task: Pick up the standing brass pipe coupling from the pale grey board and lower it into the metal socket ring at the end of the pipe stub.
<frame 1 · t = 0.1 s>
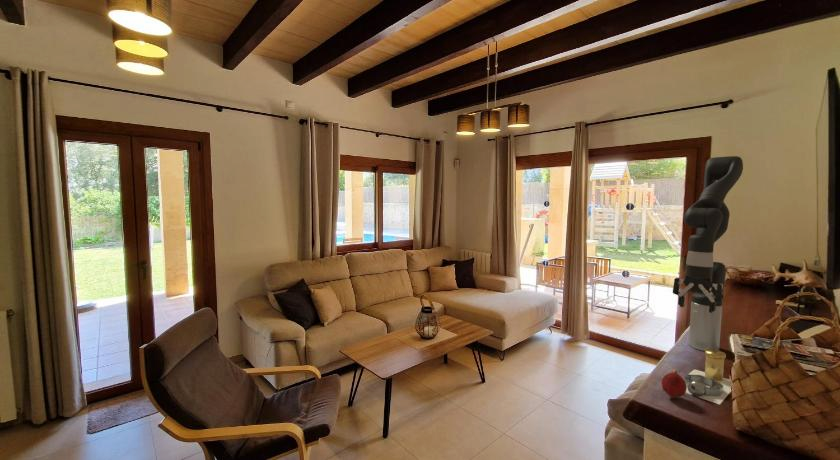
hand: (695, 309, 130), 17 cm above the sideboard, tool pointing down, fingers open, 8 cm apart
socket: (702, 391, 106), resting on board
onion: (673, 398, 103), on the sideboard
board: (705, 388, 108), on the sideboard
coupling: (713, 377, 113), point 1 cm above the sideboard, touching board
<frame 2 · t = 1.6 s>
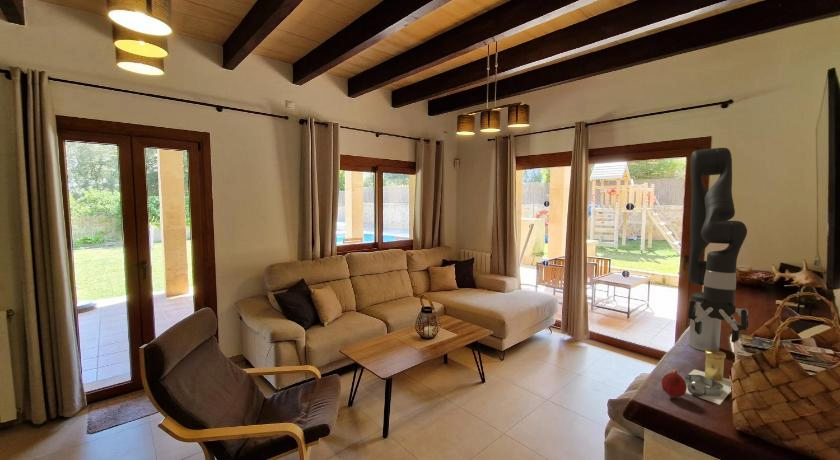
hand: (715, 337, 112), 14 cm above the sideboard, tool pointing down, fingers open, 8 cm apart
nothing on the sideboard moved.
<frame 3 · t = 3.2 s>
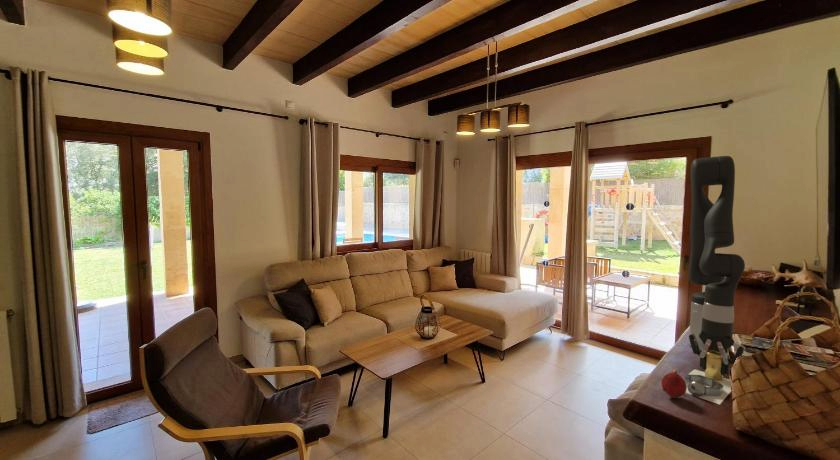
hand: (713, 371, 113), 3 cm above the sideboard, tool pointing down, fingers closed on coupling, 4 cm apart
coupling: (713, 377, 113), point 1 cm above the sideboard, touching board, gripper
everything else where it was.
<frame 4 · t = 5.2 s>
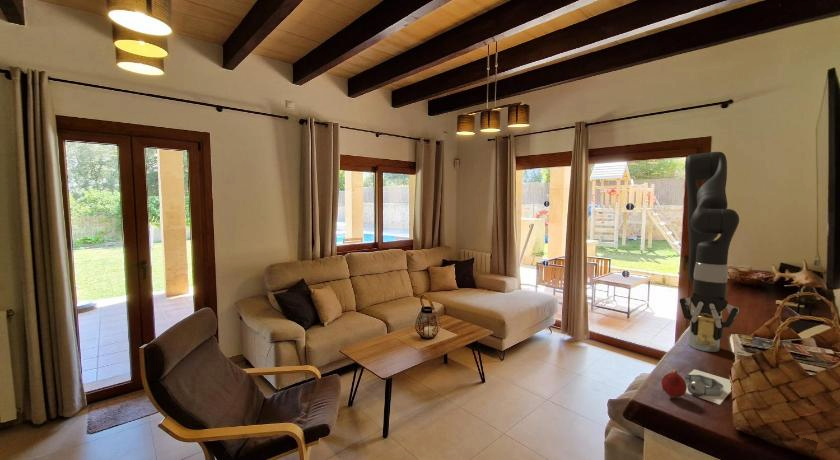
hand: (706, 336, 105), 16 cm above the sideboard, tool pointing down, fingers closed on coupling, 4 cm apart
coupling: (705, 343, 105), point 15 cm above the sideboard, touching gripper
everything else where it was.
when the fingers open (4 cm above the sideboard, at t = 7.3 s): coupling drops 1 cm, resting on board.
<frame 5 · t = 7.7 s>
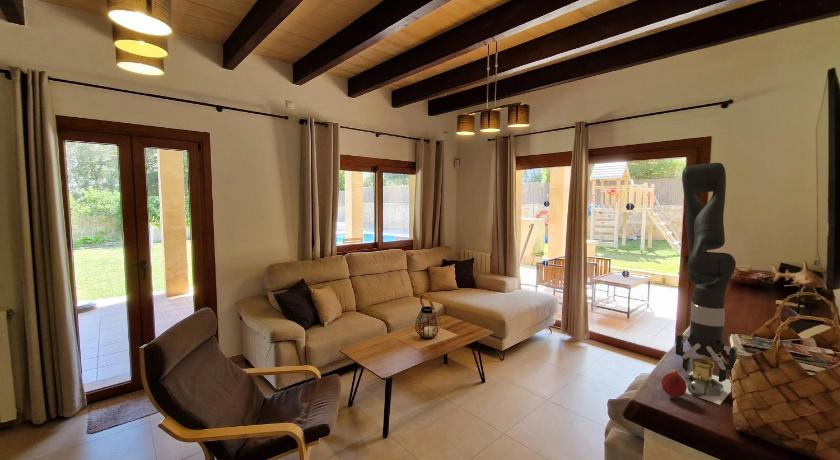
hand: (703, 375, 106), 5 cm above the sideboard, tool pointing down, fingers open, 7 cm apart
coupling: (701, 387, 107), point 1 cm above the sideboard, touching board
everything else where it was.
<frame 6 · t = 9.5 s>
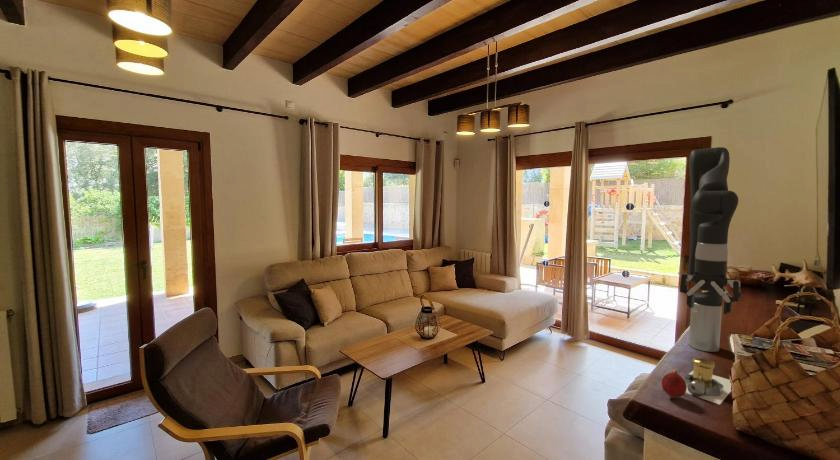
hand: (707, 310, 111), 22 cm above the sideboard, tool pointing down, fingers open, 8 cm apart
nothing on the sideboard moved.
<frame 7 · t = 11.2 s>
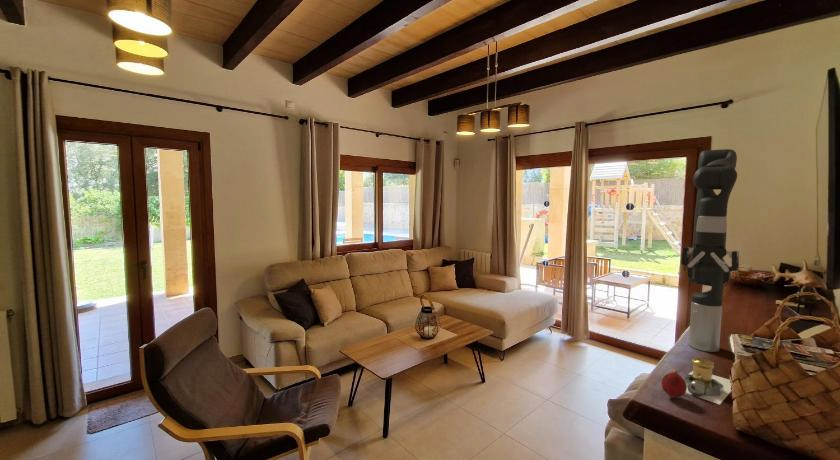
hand: (707, 281, 117), 30 cm above the sideboard, tool pointing down, fingers open, 8 cm apart
nothing on the sideboard moved.
at the end: coupling 0.3 cm off-centre on the socket, point 1.1 cm above the socket's base; coupling tilted 2°; the gripper is holding nothing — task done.
